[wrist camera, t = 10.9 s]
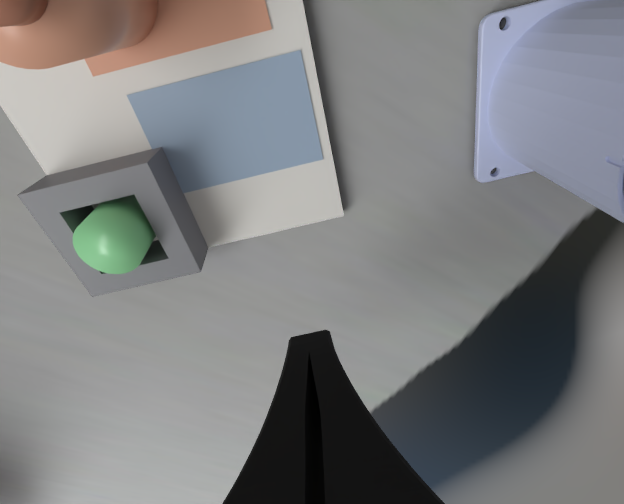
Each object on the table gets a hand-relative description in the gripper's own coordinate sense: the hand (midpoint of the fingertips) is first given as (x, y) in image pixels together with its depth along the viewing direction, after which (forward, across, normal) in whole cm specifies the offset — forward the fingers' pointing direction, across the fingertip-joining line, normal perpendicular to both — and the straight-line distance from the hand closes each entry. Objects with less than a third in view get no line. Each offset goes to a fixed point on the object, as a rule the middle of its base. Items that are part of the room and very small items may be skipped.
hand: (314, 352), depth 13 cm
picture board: (+10, +4, -8) cm, 14 cm away
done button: (+9, +8, -3) cm, 13 cm away
